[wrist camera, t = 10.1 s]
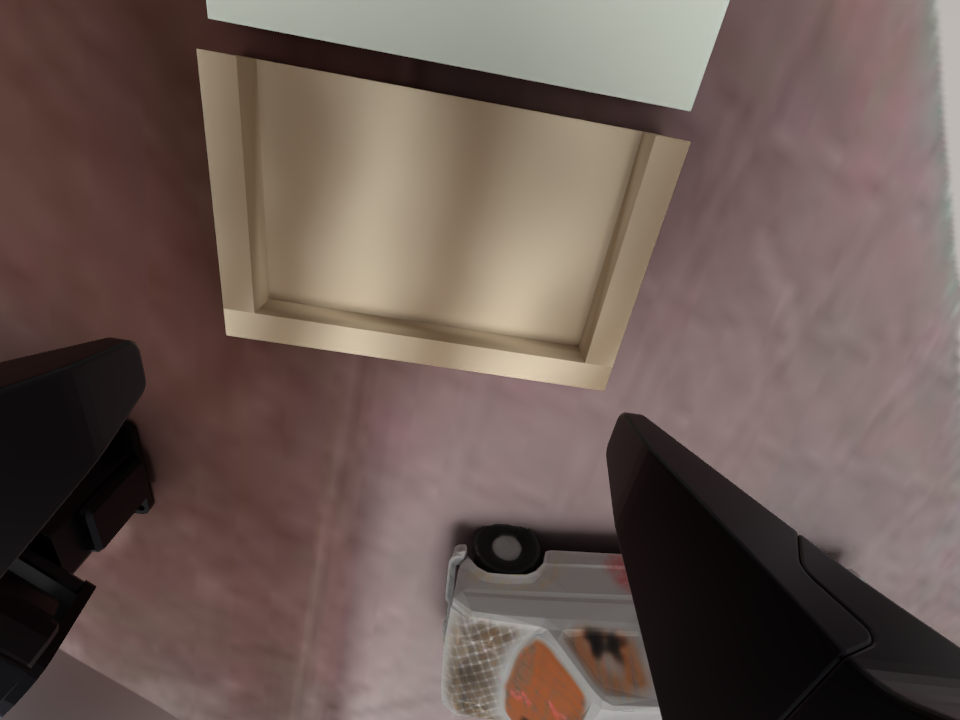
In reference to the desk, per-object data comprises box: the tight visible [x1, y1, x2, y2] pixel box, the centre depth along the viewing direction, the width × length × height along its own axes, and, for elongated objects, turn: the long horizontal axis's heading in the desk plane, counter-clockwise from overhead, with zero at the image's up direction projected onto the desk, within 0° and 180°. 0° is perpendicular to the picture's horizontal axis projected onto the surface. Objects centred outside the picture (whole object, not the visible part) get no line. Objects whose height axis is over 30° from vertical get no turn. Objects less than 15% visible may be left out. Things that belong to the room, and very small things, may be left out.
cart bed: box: [196, 49, 691, 391], centre depth 19 cm, size 16×10×3 cm, turn 81°
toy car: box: [441, 524, 866, 720], centre depth 28 cm, size 11×25×10 cm, turn 85°
